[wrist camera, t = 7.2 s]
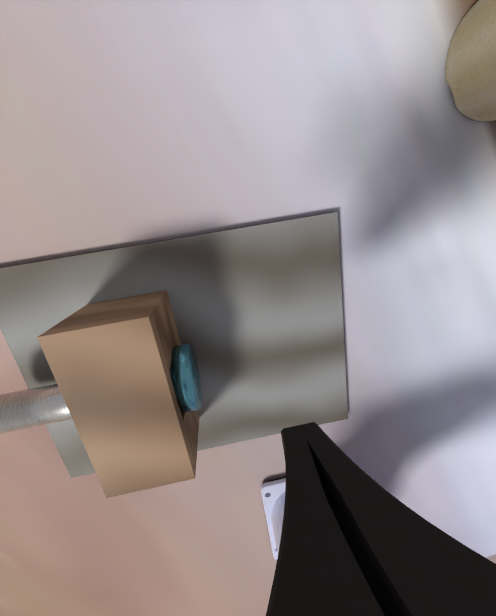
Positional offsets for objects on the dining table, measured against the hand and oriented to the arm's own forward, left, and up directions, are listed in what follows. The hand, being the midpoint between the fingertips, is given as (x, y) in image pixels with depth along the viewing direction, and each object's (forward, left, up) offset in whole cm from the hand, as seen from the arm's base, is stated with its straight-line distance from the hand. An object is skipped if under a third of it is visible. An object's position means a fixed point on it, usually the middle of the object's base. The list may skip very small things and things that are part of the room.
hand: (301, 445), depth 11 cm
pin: (0, +10, -9) cm, 14 cm away
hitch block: (0, +5, -10) cm, 11 cm away
